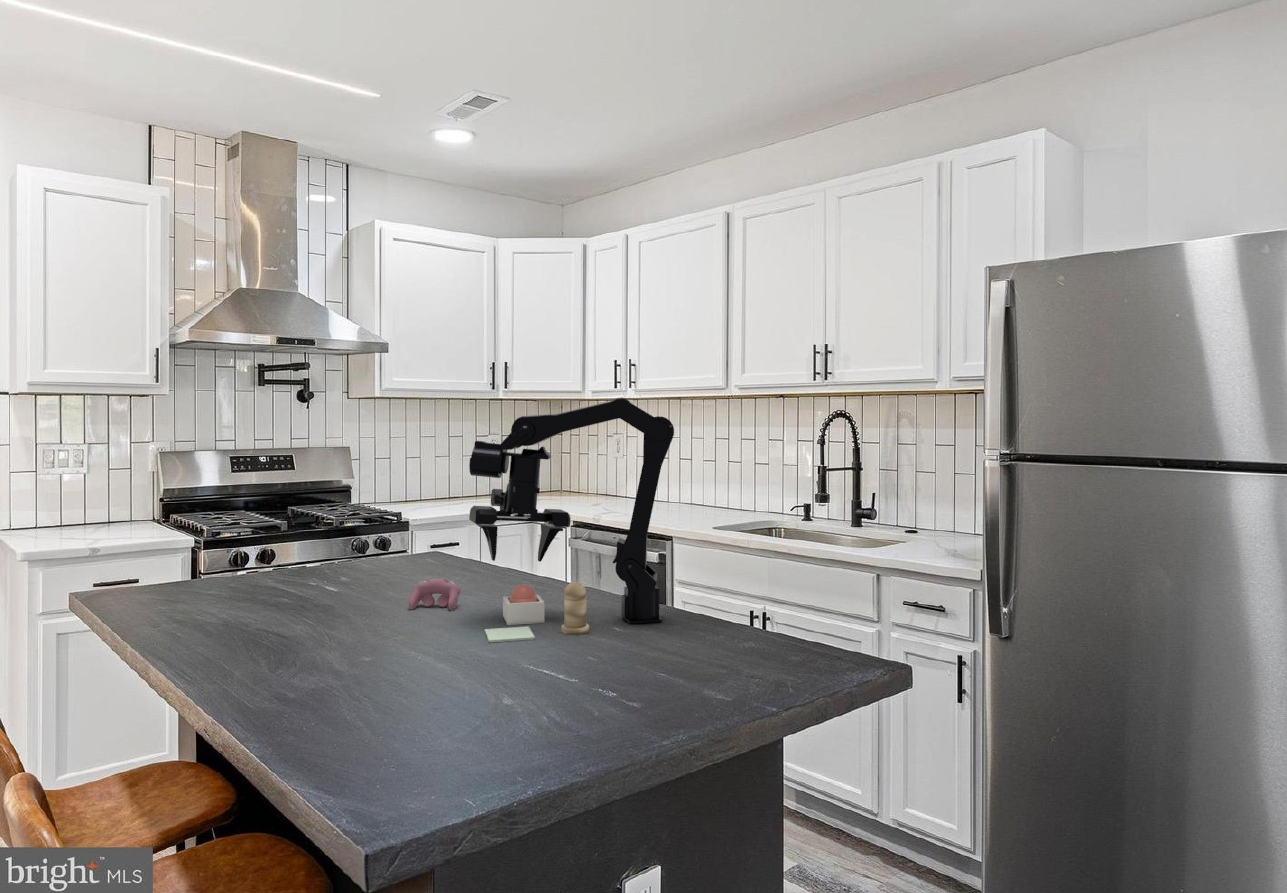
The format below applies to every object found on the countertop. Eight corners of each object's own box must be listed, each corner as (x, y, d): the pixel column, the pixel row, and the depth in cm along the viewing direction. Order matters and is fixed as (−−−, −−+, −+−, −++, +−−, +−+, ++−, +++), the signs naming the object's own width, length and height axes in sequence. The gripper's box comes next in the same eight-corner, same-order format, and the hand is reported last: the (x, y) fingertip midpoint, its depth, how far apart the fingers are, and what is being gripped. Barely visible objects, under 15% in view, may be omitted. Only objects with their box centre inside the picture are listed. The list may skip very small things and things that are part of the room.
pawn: (585, 627, 158) (585, 579, 158) (591, 633, 154) (591, 583, 153) (559, 628, 157) (559, 580, 157) (564, 635, 152) (564, 585, 152)
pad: (528, 628, 157) (528, 626, 157) (535, 639, 149) (535, 637, 149) (484, 631, 155) (484, 629, 155) (488, 642, 147) (488, 640, 147)
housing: (538, 614, 168) (538, 594, 168) (544, 623, 161) (544, 602, 161) (503, 617, 166) (503, 596, 166) (507, 625, 159) (507, 604, 159)
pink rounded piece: (534, 608, 167) (534, 581, 167) (538, 614, 162) (538, 586, 162) (508, 610, 165) (508, 582, 165) (512, 616, 161) (511, 587, 160)
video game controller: (459, 615, 175) (463, 582, 178) (453, 609, 171) (457, 575, 174) (413, 614, 176) (418, 581, 179) (405, 608, 172) (410, 575, 175)
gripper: (556, 479, 175) (549, 554, 176) (466, 473, 167) (459, 552, 168) (574, 485, 165) (567, 564, 165) (479, 479, 157) (472, 563, 158)
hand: (516, 560), depth 164 cm, fingers open, 9 cm apart
